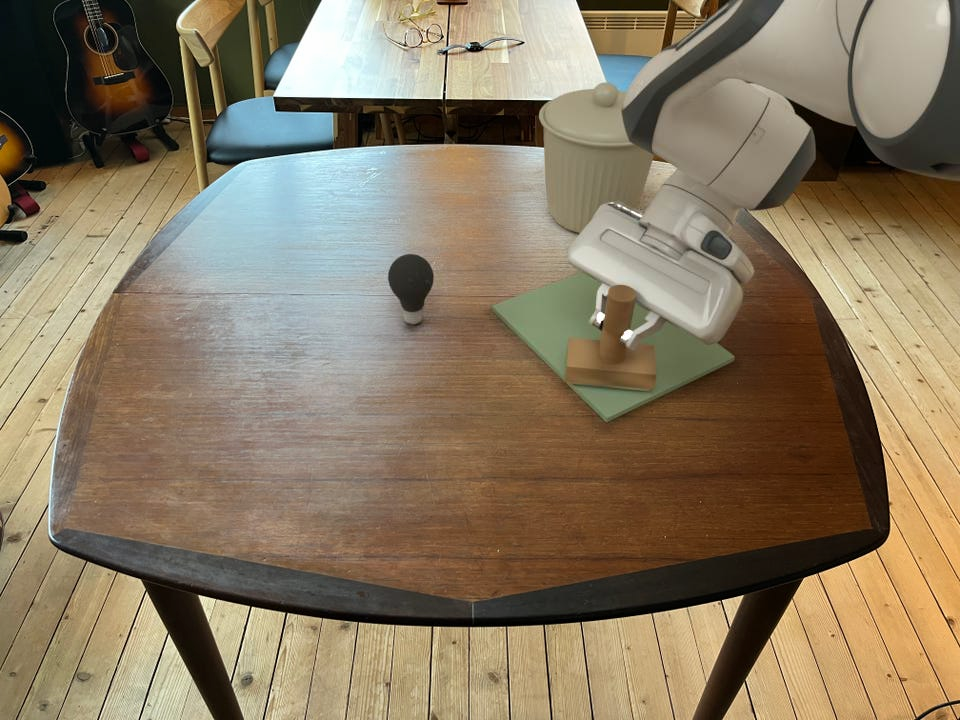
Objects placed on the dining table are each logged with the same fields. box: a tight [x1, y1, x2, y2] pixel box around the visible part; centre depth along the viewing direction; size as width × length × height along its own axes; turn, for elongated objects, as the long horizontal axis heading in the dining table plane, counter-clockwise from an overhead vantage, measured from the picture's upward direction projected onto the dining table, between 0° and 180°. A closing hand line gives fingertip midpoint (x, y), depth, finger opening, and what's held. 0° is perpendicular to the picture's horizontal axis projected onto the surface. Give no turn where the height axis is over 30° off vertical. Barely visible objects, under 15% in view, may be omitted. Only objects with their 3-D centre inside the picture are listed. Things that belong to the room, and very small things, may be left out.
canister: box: [538, 81, 655, 234], centre depth 108 cm, size 18×18×21 cm
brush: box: [565, 285, 657, 391], centre depth 82 cm, size 10×5×12 cm, turn 83°
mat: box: [491, 271, 736, 423], centre depth 93 cm, size 24×20×1 cm
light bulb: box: [387, 253, 435, 325], centre depth 92 cm, size 6×6×10 cm
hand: (610, 337), depth 81 cm, fingers closed on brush, 3 cm apart
